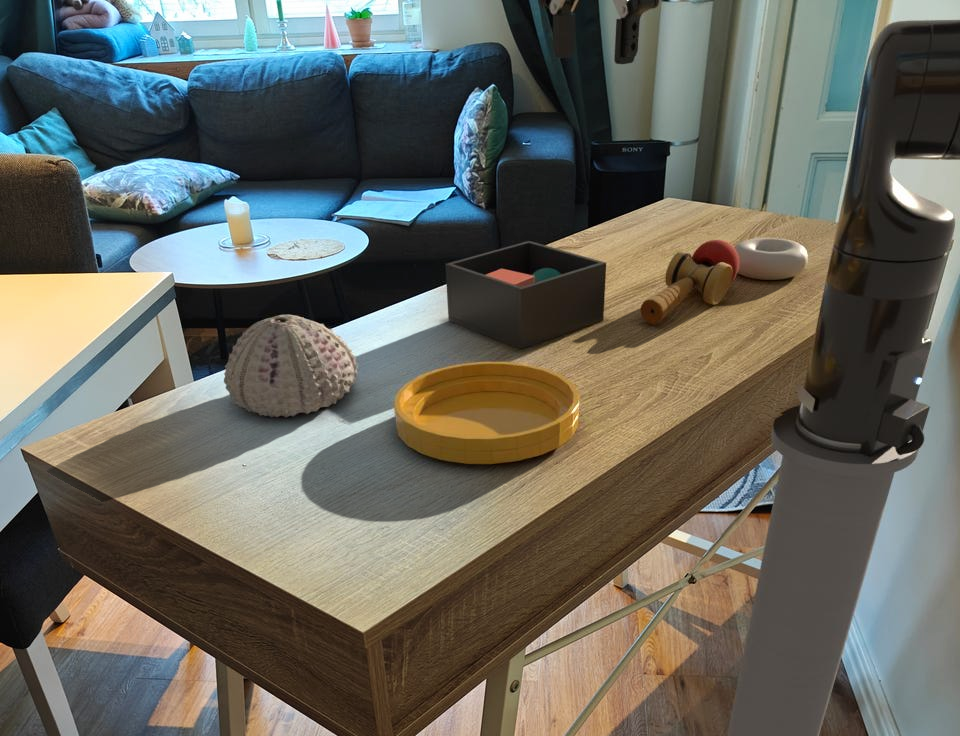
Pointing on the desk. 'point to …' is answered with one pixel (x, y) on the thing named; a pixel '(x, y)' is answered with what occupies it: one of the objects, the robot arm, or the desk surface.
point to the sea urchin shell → (289, 367)
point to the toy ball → (545, 274)
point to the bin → (526, 294)
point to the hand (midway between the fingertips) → (593, 60)
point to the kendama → (694, 278)
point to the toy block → (513, 277)
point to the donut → (771, 258)
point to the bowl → (487, 412)
